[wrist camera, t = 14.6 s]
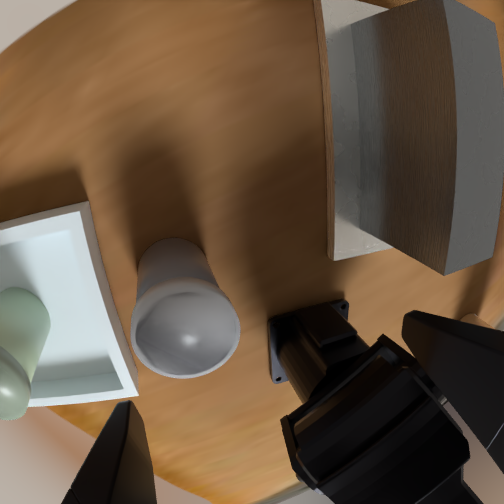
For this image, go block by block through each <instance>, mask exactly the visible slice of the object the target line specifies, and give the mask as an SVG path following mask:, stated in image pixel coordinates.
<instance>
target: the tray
mask: <svg viewBox="0 0 504 504" xmlns="http://www.w3.org/2000/svg"><path fill="white" fill-rule="evenodd" d="M10 287H19V288H23V289H26V290H28V291H30V292H31V293H33V294H34V295H36V296H37V297H38V298H39V299H40V300H41V301H42V303H43V304H44V305H45V307H46V309H47V311H48V313H49V316H50V321H51V328H50V332H49V334H48V337H47V340H46V342H45V345H44V347H43V350H42V353H41V355H40V358H39V361H38V364H37V366H36V369H35V372H34V375H33V378H32V381H31V396H30V399H29V403H28V406H27V407H32V406H51V405H64V404H75V403H85V402H95V401H103V400H111V399H119V398H126V397H133V396H139V390H138V371H137V368H136V365H135V363H134V360H133V357H132V355H131V352H130V349H129V346H128V344H127V341H126V338H125V335H124V332H123V329H122V326H121V323H120V320H119V317H118V314H117V311H116V307H115V304H114V301H113V297H112V294H111V291H110V287H109V284H108V280H107V277H106V273H105V269H104V265H103V262H102V258H101V254H100V250H99V245H98V241H97V237H96V233H95V228H94V224H93V219H92V214H91V209H90V204H89V201H86V202H81V203H77V204H72V205H68V206H64V207H59V208H55V209H51V210H47V211H43V212H39V213H35V214H31V215H27V216H23V217H20V218H16V219H12V220H9V221H5V222H1V223H0V293H1V292H2V291H3V290H5V289H7V288H10Z"/></svg>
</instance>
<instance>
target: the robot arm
mask: <svg viewBox="0 0 504 504" xmlns="http://www.w3.org/2000/svg"><path fill="white" fill-rule="evenodd" d="M342 305H343V306H342ZM341 306H342V307H341ZM348 310H349V303H348V302H347V301H346V300H345V299H339V300H335V301H332V302H326V303H322V304H319V305H315V306H311V307H307V308H303V309H300V310H297V311H294V312H290V313H286V314H282V315H278V316H274V317H272V318H270V319H269V321H268V335H269V352H270V368H271V379H272V381H273V383H275V384H278V383H282V382H285V381H288V380H289V381H290V383H291V385H292V387H293V388H294V390H295V392H296V393H297V395H298V397H299V398H300V400H301V402H302V403H303V404H302V405H301V406H300V407H298V408H297V409H296V410H295V411H293V412H292V413H291V414H289V415H286V416H284V417H283V418H282V419H280V422H281V425H282V432H283V435H284V439H285V443H286V447H287V451H288V454H289V458H290V462H291V466H292V469H293V470H294V472H295V473H296V477H297V479H298V480H299V481H301V482H305V483H306V484H307V485H308V486H309V487H310V488H311V489H312V490H314V491H315V492H317V493H319V494H322V495H326V496H327V497H329V499H331V500H332V501H333V502H334V503H335V504H483V503H482V501H481V500H480V499H479V498H478V497H477V496H476V494H475V493H474V492H473V491H472V490H471V488H470V487H469V486H468V485H467V484H466V483H465V482H464V480H463V465H464V464H465V463H466V462H467V461H468V460H469V459H470V451H469V444H468V441H467V439H466V438H465V437H464V436H463V432H462V430H461V428H460V427H459V426H458V424H457V423H456V422H455V421H454V420H453V418H452V417H451V416H450V415H449V413H448V412H447V411H446V410H445V408H444V407H443V406H442V405H441V403H442V402H443V401H444V400H445V399H446V398H447V400H448V401H449V402H450V403H451V405H452V406H453V407H454V409H455V410H456V411H457V412H458V414H459V415H460V416H461V417H462V419H463V420H464V421H465V423H466V424H467V425H468V426H469V427H470V429H471V430H472V432H473V433H474V434H475V435H476V437H477V438H478V440H479V441H480V442H481V444H482V445H483V446H484V448H485V449H487V452H488V453H489V455H490V456H491V457H492V459H493V460H494V461H495V463H496V464H497V466H498V467H499V468H500V470H501V471H502V472H503V474H504V331H501V330H496V329H492V328H488V327H483V326H479V325H475V324H471V323H467V322H462V321H458V320H454V319H450V318H446V317H442V316H438V315H433V314H429V313H425V312H421V311H417V310H413V311H411V312H408V313H406V314H405V315H404V318H403V325H402V338H403V340H404V342H405V343H406V344H407V346H408V347H409V349H410V350H411V352H412V353H413V355H414V356H415V357H413V356H412V355H411V354H409V353H408V352H407V351H406V350H404V349H403V348H402V347H400V346H399V345H398V344H396V343H395V342H394V341H392V340H391V339H390V338H388V337H387V336H386V335H384V334H382V335H381V336H380V337H379V338H378V339H377V340H378V341H376V342H375V343H374V344H373V345H372V346H371V347H369V346H368V345H367V344H366V343H365V342H364V340H363V339H362V338H361V337H360V336H359V335H358V334H357V330H356V329H355V328H354V327H353V326H352V325H351V324H350V323H349V322H348ZM275 322H277V324H276V325H273V324H274V323H275ZM277 377H278V378H277ZM61 504H157V500H156V492H155V483H154V474H153V466H152V461H151V457H150V452H149V447H148V443H147V438H146V433H145V427H144V423H143V420H142V417H141V415H140V414H139V412H138V410H137V409H136V407H135V405H134V403H133V402H132V401H130V400H128V401H122V402H119V403H117V405H116V407H115V408H114V410H113V412H112V413H111V415H110V417H109V419H108V420H107V422H106V424H105V426H104V427H103V429H102V431H101V433H100V434H99V436H98V438H97V440H96V441H95V443H94V445H93V447H92V448H91V450H90V452H89V454H88V456H87V458H86V459H85V461H84V463H83V465H82V466H81V468H80V470H79V472H78V474H77V475H76V478H75V479H74V481H73V483H72V485H71V489H69V490H68V492H67V494H66V496H65V497H64V499H63V501H62V503H61Z"/></svg>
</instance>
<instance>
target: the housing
mask: <svg viewBox="0 0 504 504" xmlns="http://www.w3.org/2000/svg"><path fill="white" fill-rule="evenodd" d="M313 3H314V11H315V19H316V27H317V36H318V46H319V56H320V66H321V78H322V91H323V105H324V121H325V141H326V167H327V256H328V257H329V258H331V259H332V260H333V261H337V260H342V259H346V258H350V257H355V256H359V255H364V254H368V253H372V252H377V251H381V250H385V249H389V248H396V249H398V250H400V251H401V252H403V253H405V254H407V255H409V256H410V257H412V258H414V259H416V260H417V261H419V262H421V263H423V264H424V265H426V266H428V267H430V268H431V269H433V270H435V271H436V272H438V273H440V274H441V275H443V276H445V275H448V274H451V273H453V272H456V271H458V270H461V269H464V268H466V267H469V266H471V265H474V264H477V263H479V262H482V261H484V260H487V259H489V258H491V257H492V256H493V251H494V246H495V240H496V234H497V228H498V222H499V215H500V207H501V198H502V188H503V176H504V88H503V76H502V67H501V59H500V51H499V45H498V38H497V33H496V27H495V23H494V22H492V21H491V20H489V19H487V18H486V17H484V16H482V15H481V14H479V13H477V12H476V11H474V10H472V9H470V8H468V7H467V6H465V5H463V4H461V3H459V2H457V1H455V0H417V1H413V2H410V3H407V4H404V5H401V6H398V7H395V8H392V9H387V8H383V7H380V6H376V5H372V4H368V3H364V2H360V1H356V0H313Z"/></svg>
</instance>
